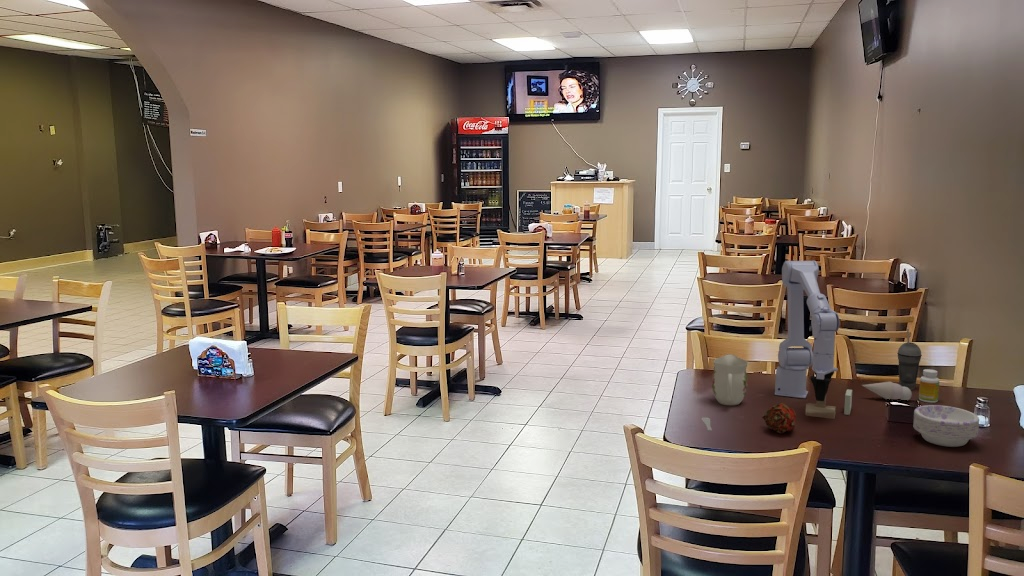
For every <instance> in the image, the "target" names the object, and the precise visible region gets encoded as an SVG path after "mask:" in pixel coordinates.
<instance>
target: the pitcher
mask: <svg viewBox="0 0 1024 576" xmlns="http://www.w3.org/2000/svg"><path fill="white" fill-rule="evenodd" d="M712 361H713V367H714V370H713V372H712V375H711V386H712V387H711V388H712V392H713V395H714V398H715V400H716V401H717V402H718V403H719V404H721V405H724V406H738V405H740V403H742V401H743V400H744V398H745V396H746V394H747V390H748V385H749V377H748V373H747V366H748V361H747V360H745V359H743V358H740V357H738V356H736V355H735V354H731V353H730V354H725V355H723V356H720V357H716V358H715V359H714V360H712Z"/></svg>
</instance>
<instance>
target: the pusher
mask: <svg viewBox="0 0 1024 576" xmlns="http://www.w3.org/2000/svg"><path fill="white" fill-rule="evenodd" d="M826 400H827V395H826V396H825V399H824V401H815V403H810V402H809V403H806V405H805V416H806V417H815V418H822V419H823V418H824V419H831V420H835V417H836V408H837V406H834V405H833V406H832V405H826V403H827V402H826Z"/></svg>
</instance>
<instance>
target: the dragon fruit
mask: <svg viewBox="0 0 1024 576" xmlns="http://www.w3.org/2000/svg"><path fill="white" fill-rule="evenodd" d="M796 417H797V414H796V411H795V410H794V409H793V408H791V407H789V405H787V404H786V403H784V402H781V403H779V404H775V405H772V406H771V407H769V408H768V410H766V412H765V414H763V415H762V416H761V418H762V420H763V421H764V423H765V425H766V426H767V428H769V429H770V430H772V431H775V432H776V433H779V434H784V433H786V431H787V432H792V431H794V429H795V423H796V421H797V419H796Z"/></svg>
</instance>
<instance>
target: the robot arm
mask: <svg viewBox="0 0 1024 576" xmlns="http://www.w3.org/2000/svg"><path fill="white" fill-rule="evenodd" d="M819 271H820V269H819V263H818V262H817V261H816V260H813V259H812V260H785V261H784V262H783V264H782V266H781V282H782V286H784V287H786V291H787V294H786V295H787V337H786V338H785V339H784V340H782V341H781V342H780V343H779V345H778V346H779V347H778V353H777V359H778V363H779V365H780V366H779V365H778V366H776V371H775V379H774V380H775V382H774V383H775V384H774V395H775V396H781V397H782V396H783V397H790V398H791V397H792V398H800V399H806V398H807V396H808V393H809V391H808V390H807V370H809V369H810V367H811V370H812V371H813V372H814V375H810V378H809V379H810V381H811V383H812V385H813V390H814V396H815V400H816V401H824V399H825V396H826V397H827V393H828V391H829V386H830V383H831V382H832V378H833V376H834V374H835V372H838V371H839V369H838V367H834V364H835V363H834V359H835V346H836V343H835V341H836V332H838V331H839V328H840V323H841V322H840V317H839V314H838V313H837V311H834V309H832V308H831V306H830V303H829V302H828V299H827V296H826V295H825V294H823V293H821V290H820V288H819V284H818V281H817V280H818V276H819ZM804 293H805V294H806V295H807V299H806V305H807V308H808V310H809V312H810V316H811V324H810V325H811V331H812V337H813V346H812V343H810V341H808V340H807V339H806V338H805V323H804V322H805V321H804V319H805V318H804V313H805V312H804ZM816 401H815V402H816Z"/></svg>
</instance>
